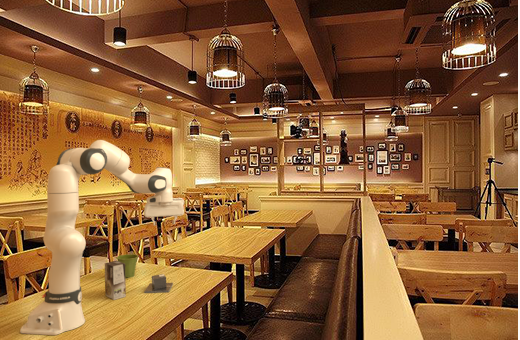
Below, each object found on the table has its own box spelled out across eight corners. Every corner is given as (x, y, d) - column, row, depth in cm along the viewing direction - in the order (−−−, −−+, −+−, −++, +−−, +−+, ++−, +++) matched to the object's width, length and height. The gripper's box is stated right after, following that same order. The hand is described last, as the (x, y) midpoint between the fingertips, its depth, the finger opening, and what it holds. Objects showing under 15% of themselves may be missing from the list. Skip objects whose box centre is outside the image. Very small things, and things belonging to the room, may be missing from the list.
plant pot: (134, 279, 207) (134, 259, 207) (113, 279, 208) (112, 259, 207) (141, 273, 219) (141, 253, 219) (121, 273, 219) (121, 254, 219)
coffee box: (126, 296, 181) (125, 263, 181) (113, 300, 176) (112, 266, 176) (117, 292, 187) (116, 260, 187) (104, 295, 182) (104, 262, 182)
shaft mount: (144, 293, 186) (144, 285, 185) (149, 285, 198) (149, 277, 197) (169, 292, 186) (168, 284, 186) (173, 284, 198) (172, 276, 198)
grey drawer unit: (154, 289, 188) (153, 278, 188) (152, 285, 193) (151, 274, 193) (166, 287, 191) (166, 276, 190) (163, 283, 196) (163, 272, 196)
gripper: (183, 196, 203) (183, 222, 203) (143, 198, 196) (144, 224, 196) (185, 197, 197) (185, 224, 197) (144, 199, 190) (144, 226, 190)
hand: (164, 224), depth 197 cm, fingers open, 8 cm apart
